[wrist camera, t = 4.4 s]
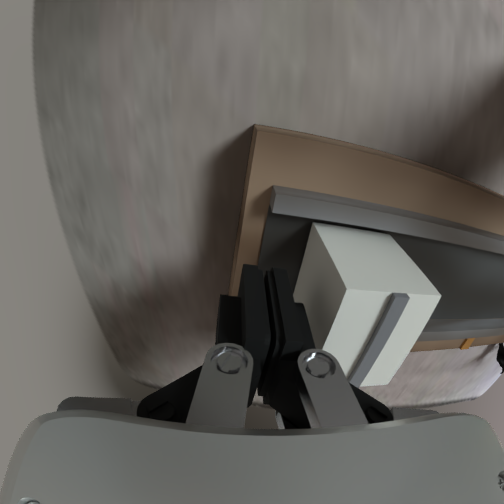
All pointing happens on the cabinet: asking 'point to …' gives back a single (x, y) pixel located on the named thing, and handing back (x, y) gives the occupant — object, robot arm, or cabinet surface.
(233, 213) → the cabinet surface
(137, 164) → the cabinet surface
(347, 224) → the fader console
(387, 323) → the fader tab
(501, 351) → the creature
